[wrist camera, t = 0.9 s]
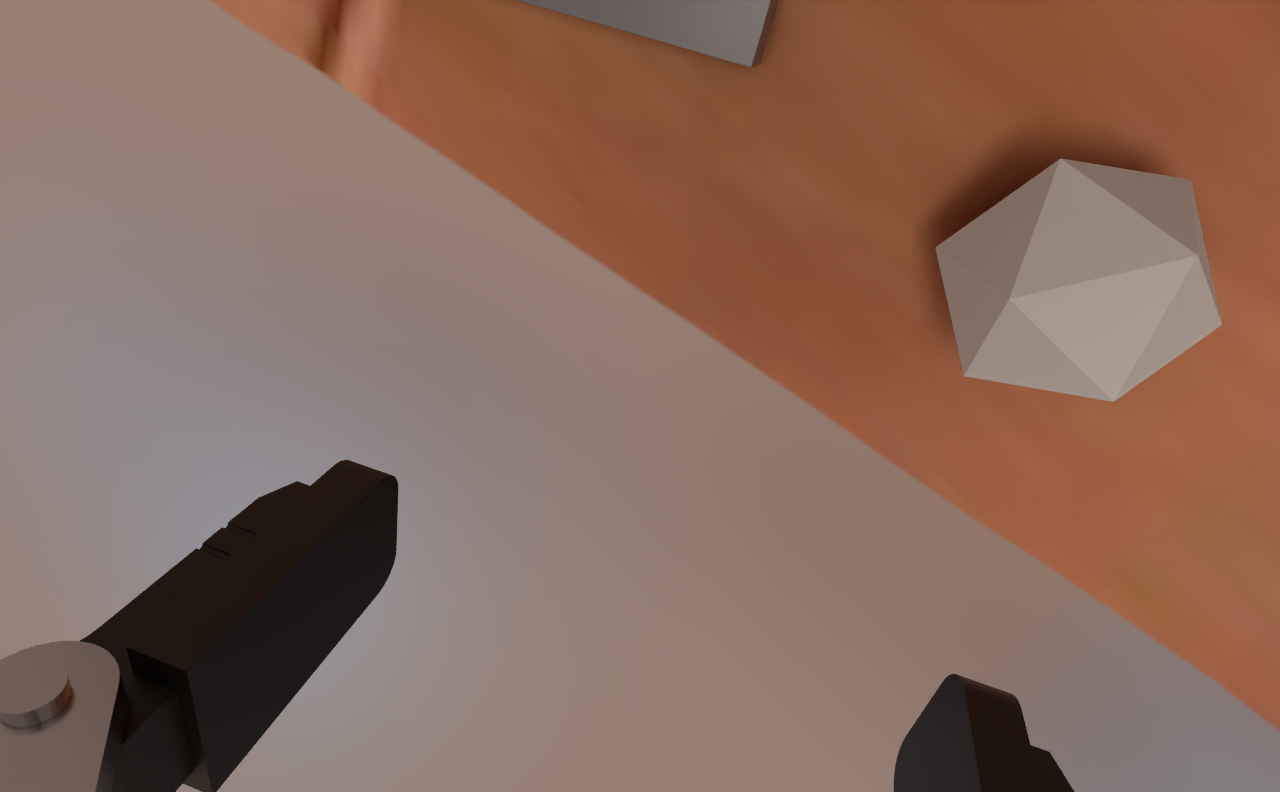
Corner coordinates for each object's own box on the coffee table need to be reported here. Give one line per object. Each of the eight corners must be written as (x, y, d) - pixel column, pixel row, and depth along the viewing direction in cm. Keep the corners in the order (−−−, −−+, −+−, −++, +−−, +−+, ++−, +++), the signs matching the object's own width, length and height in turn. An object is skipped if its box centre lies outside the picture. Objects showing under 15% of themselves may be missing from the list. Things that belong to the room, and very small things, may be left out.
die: (884, 243, 32) (929, 444, 27) (1013, 74, 24) (1106, 316, 19) (1049, 265, 33) (1118, 459, 29) (1220, 112, 26) (1352, 345, 21)
